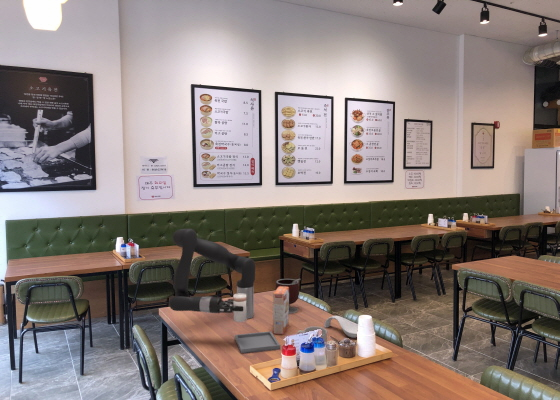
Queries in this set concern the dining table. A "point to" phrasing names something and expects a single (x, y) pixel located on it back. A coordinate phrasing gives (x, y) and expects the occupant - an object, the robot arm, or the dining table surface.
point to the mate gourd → (290, 291)
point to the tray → (257, 342)
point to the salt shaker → (240, 301)
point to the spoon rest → (344, 325)
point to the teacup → (324, 331)
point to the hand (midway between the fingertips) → (245, 306)
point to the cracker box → (280, 310)
